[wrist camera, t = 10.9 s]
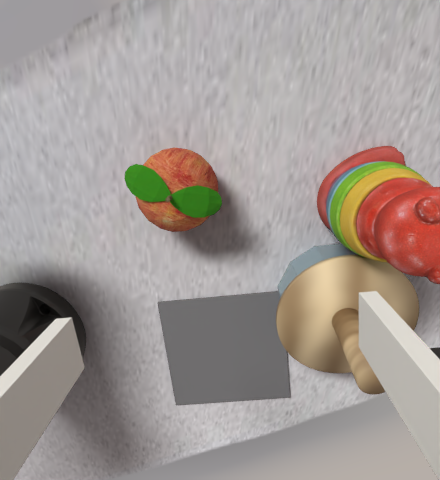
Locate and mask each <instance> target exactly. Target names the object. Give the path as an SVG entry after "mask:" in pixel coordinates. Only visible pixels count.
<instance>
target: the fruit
mask: <svg viewBox="0 0 440 480" xmlns="http://www.w3.org/2000/svg"><path fill="white" fill-rule="evenodd" d="M125 181H126V185H127V187H128V188H129V190H130V191H131V192H132V194H134V195H135V196H136V200H137V203H138V206H139V208H140V210H141V211H142V213H143V214H144V215H145V217H146V218H147V219H148V221H150V222H152V223H153V224H155V225H156V226H158V227H159V228H161V229H164V230H168V231H172V232H177V231H187V230H190V229H192V228H194V227H197V226H199V225H201V224H202V223H203V222H204V221H205V220H206V219H207V218H208V217H209V216H210V215H214V214H215V213H216V212H217V211H218V210H219V209H220V207H221V205H222V200H221V196H220V195H219V194H218V181H217V178H216V175H215V173H214V171H213V169H212V167H211V166H210V164H209V163H208V162H207V161H206V160H205V159H204V158H203V157H201V156H200V155H199V154H197V153H195V152H193V151H191V150H187V149H181V148H170V149H165V150H162V151H160V152H158V153H156V154H154V155H152V156H151V157H150V158H149V159H148V160H147V161H146V163H145V164H144V165H138V164H135V165H133V166H130V167H129V168H128V169H127V171H126V172H125Z"/></svg>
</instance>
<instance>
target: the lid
mask: <svg viewBox="0 0 440 480" xmlns="http://www.w3.org/2000/svg"><path fill="white" fill-rule="evenodd" d="M371 291H377V292H378V293H379V294H380V295H381V297H382V298H383V299H384V300H385V301H386V302H387V303H388V304H389V305H390V306H391V307H392V308H393V310H394V311H395V312H396V313H397V314H398V315H399V316H400V317H401V318H402V319H403V320H404V321H405V322H406V324H407V325H408V326H409V327H410V328H411V329H412V330H413V331H414V329H415V327H416V324H417V320H418V316H419V301H418V297H417V293H416V291H415V289H414V287H413V285H412V284H411V282H410V281H409V280H408V279H407V277H406V276H405V275H404V274H403V273H402V272H401V271H399V270H397V269H395V268H394V267H393V266H391V265H390V264H389V263H388V262H381V261H376V260H372V259H369V258H366V257H363V256H361V255H343V256H337V257H332V258H328V259H326V260H323V261H320V262H318V263H316V264H314V265H312V266H310V267H309V268H307V269H305V270H304V271H302V272H301V273H300V274H299V275H298V276H296V277H295V278H294V279H293V280H292V281H291V282H290V283H289V285H288V286H287V288H286V289H285V290H284V292H283V294H282V296H281V298H280V300H279V303H278V306H277V311H276V326H277V331H278V335H279V338H280V341H281V343H282V345H283V346H284V348H285V349H286V351H287V352H288V353H289V354H290V355H291V356H292V357H293V358H294V359H296V360H297V361H298V362H300V363H302V364H303V365H305V366H307V367H309V368H312V369H315V370H318V371H323V372H329V373H349V372H352V373H353V375H354V378H355V380H356V382H357V385H358V387H359V389H360V390H361V391H363V392H365V393H367V394H380V393H383V392H386V391H385V390H384V388H383V386H382V385H381V383H380V381H379V380H378V378H377V376H376V375H375V373H374V371H373V370H372V368H371V366H370V365H369V363H368V361H367V360H366V358H365V356H364V355H363V353H362V351H361V350H360V348H359V293H360V292H371Z"/></svg>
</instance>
